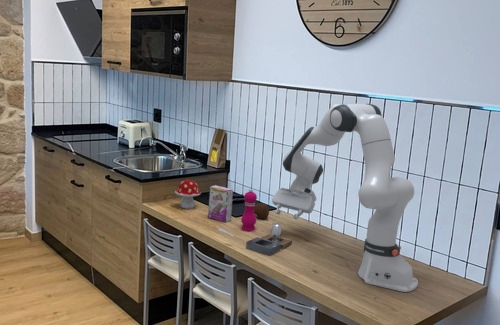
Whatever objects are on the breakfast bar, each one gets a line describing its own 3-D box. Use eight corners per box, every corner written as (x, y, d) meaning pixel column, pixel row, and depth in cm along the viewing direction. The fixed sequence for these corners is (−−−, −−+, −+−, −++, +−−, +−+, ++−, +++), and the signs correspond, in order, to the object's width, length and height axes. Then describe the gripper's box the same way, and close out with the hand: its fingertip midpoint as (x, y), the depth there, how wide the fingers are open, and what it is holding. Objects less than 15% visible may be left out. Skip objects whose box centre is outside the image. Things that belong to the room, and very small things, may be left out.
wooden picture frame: (291, 244, 227) (292, 240, 227) (282, 249, 220) (282, 245, 220) (269, 238, 234) (269, 234, 233) (258, 242, 227) (259, 238, 226)
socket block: (280, 250, 219) (280, 243, 218) (269, 255, 212) (270, 249, 212) (256, 243, 226) (257, 237, 225) (246, 248, 219) (246, 241, 218)
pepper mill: (254, 232, 240) (257, 191, 236) (239, 230, 241) (241, 189, 237) (257, 228, 247) (260, 187, 243) (242, 226, 248) (245, 186, 244)
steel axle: (281, 243, 228) (283, 224, 226) (276, 246, 224) (278, 226, 223) (273, 241, 230) (275, 222, 228) (269, 243, 226) (270, 224, 225)
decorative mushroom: (205, 206, 277) (206, 179, 274) (191, 212, 264) (193, 184, 261) (182, 202, 282) (184, 175, 279) (169, 208, 270) (170, 180, 267)
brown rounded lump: (263, 221, 258) (264, 206, 256) (249, 216, 264) (250, 202, 263) (272, 219, 263) (273, 204, 262) (258, 214, 270) (259, 199, 268)
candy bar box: (207, 218, 257) (209, 186, 254) (213, 216, 261) (215, 184, 258) (225, 223, 251) (227, 190, 248) (231, 220, 255) (233, 189, 252)
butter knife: (221, 228, 243) (216, 229, 241) (254, 243, 225) (249, 244, 223) (221, 229, 243) (216, 229, 241) (254, 244, 225) (249, 245, 223)
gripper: (277, 183, 241) (264, 207, 234) (316, 191, 229) (303, 217, 223) (281, 190, 245) (269, 214, 239) (319, 199, 234) (307, 224, 228)
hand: (286, 216), depth 231 cm, fingers open, 8 cm apart
